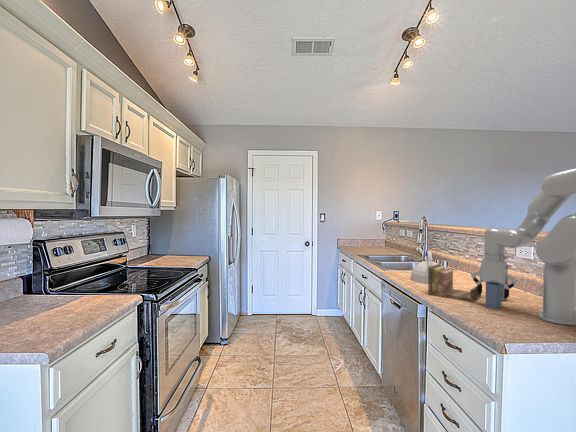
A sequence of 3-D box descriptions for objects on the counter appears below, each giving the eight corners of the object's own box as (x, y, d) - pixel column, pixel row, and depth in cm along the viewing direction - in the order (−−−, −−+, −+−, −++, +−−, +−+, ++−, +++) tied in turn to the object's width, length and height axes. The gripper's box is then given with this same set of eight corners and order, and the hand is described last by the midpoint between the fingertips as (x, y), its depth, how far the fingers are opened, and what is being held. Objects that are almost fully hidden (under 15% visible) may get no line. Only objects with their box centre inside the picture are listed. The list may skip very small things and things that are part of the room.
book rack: (480, 296, 156) (481, 268, 156) (473, 302, 146) (473, 272, 146) (437, 289, 170) (438, 264, 170) (428, 294, 160) (428, 267, 160)
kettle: (411, 283, 186) (412, 251, 186) (409, 276, 206) (409, 248, 206) (450, 285, 180) (450, 253, 180) (444, 278, 200) (444, 249, 200)
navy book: (501, 304, 143) (501, 282, 143) (496, 309, 136) (496, 286, 136) (491, 302, 146) (491, 281, 146) (485, 307, 138) (486, 284, 138)
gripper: (519, 258, 137) (518, 298, 138) (474, 253, 149) (472, 290, 150) (516, 260, 132) (515, 301, 132) (469, 255, 144) (468, 293, 144)
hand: (492, 295), depth 141 cm, fingers open, 9 cm apart
